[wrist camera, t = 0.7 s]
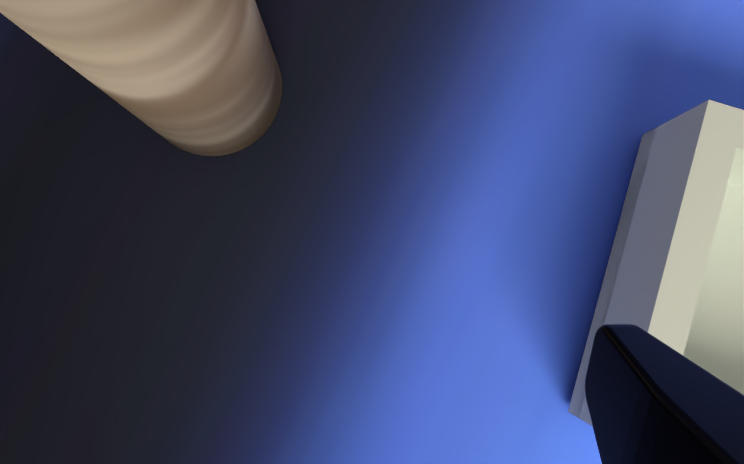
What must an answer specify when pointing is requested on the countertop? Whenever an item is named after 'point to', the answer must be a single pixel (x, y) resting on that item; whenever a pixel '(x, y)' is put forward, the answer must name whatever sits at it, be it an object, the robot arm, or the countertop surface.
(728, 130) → the cradle
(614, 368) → the robot arm
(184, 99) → the dowel
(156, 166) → the countertop surface
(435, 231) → the countertop surface
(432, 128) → the countertop surface
